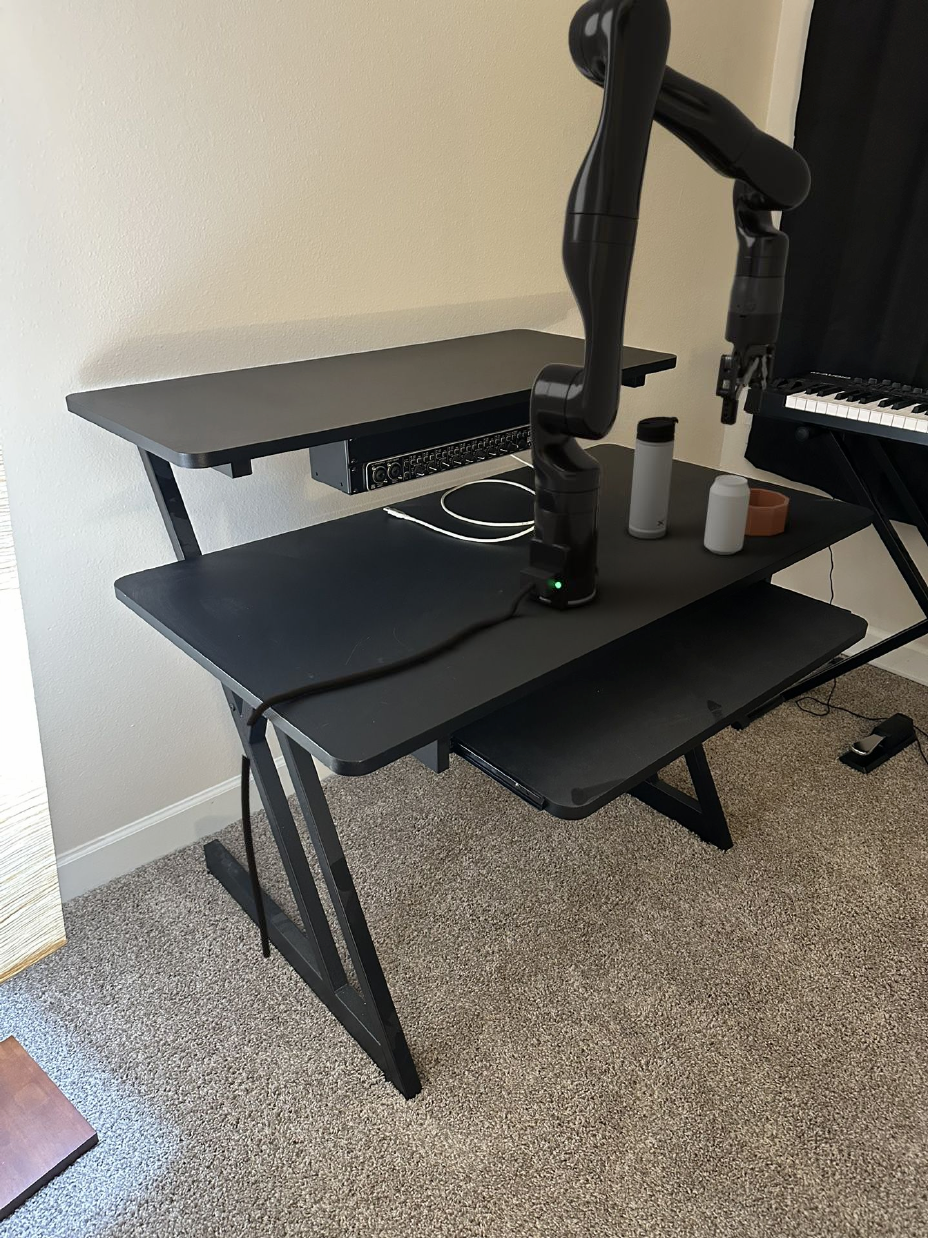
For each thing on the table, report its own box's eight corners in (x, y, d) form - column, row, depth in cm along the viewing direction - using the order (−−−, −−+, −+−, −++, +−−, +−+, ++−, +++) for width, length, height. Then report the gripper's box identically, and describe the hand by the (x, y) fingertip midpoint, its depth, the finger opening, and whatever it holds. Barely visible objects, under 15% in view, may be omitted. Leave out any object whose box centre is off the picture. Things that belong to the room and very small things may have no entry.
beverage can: (716, 539, 152) (724, 471, 146) (749, 549, 148) (759, 479, 142) (695, 549, 148) (703, 479, 143) (729, 559, 144) (738, 488, 139)
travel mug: (670, 539, 152) (682, 422, 143) (631, 539, 152) (640, 422, 143) (663, 526, 158) (674, 413, 149) (626, 526, 158) (634, 413, 149)
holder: (771, 540, 151) (775, 512, 149) (711, 526, 158) (714, 499, 155) (795, 523, 158) (799, 496, 156) (737, 510, 165) (740, 484, 162)
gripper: (751, 301, 138) (737, 406, 145) (708, 311, 128) (696, 423, 135) (799, 305, 134) (782, 413, 141) (758, 315, 124) (743, 431, 131)
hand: (740, 418), depth 138 cm, fingers open, 8 cm apart
